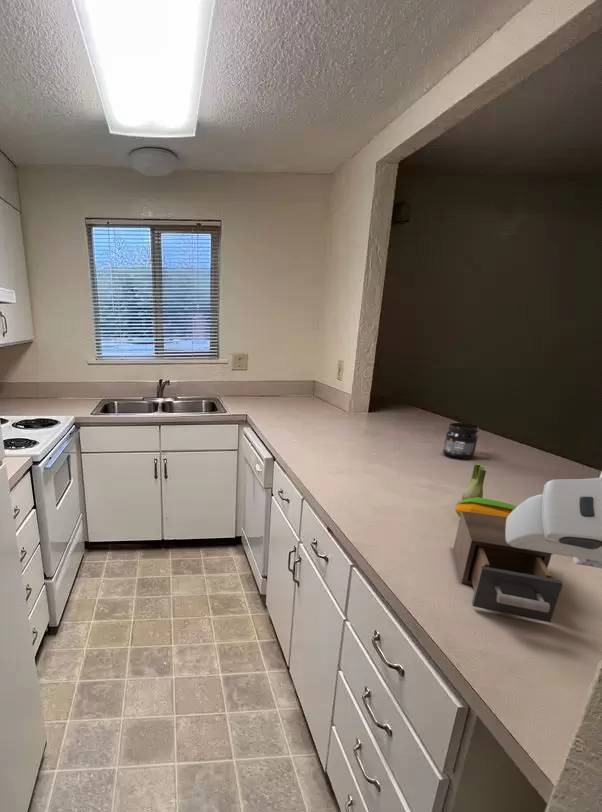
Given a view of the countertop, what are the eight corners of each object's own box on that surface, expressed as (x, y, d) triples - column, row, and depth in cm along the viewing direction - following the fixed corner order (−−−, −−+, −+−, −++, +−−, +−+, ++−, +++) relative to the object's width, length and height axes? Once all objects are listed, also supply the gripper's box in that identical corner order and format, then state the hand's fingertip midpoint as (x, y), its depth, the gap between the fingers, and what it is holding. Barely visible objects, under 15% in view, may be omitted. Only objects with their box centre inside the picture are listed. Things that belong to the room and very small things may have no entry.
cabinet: (538, 598, 83) (552, 553, 79) (461, 583, 88) (471, 540, 84) (519, 560, 96) (530, 520, 92) (453, 549, 100) (461, 510, 97)
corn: (462, 487, 116) (557, 508, 103) (457, 512, 119) (548, 535, 106) (454, 497, 111) (553, 520, 98) (449, 523, 114) (544, 548, 101)
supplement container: (462, 451, 172) (468, 422, 168) (479, 459, 162) (487, 428, 158) (436, 452, 171) (442, 422, 167) (452, 460, 162) (459, 429, 157)
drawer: (558, 638, 71) (572, 598, 68) (476, 620, 75) (486, 582, 73) (529, 581, 87) (539, 546, 84) (462, 568, 91) (470, 535, 88)
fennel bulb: (479, 510, 120) (489, 469, 116) (459, 505, 123) (468, 466, 119) (481, 503, 125) (491, 463, 121) (462, 499, 128) (470, 460, 123)
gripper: (806, 508, 39) (697, 552, 51) (530, 477, 46) (492, 522, 58) (824, 576, 36) (706, 606, 48) (531, 532, 44) (491, 567, 56)
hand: (587, 560), depth 53 cm, fingers closed
